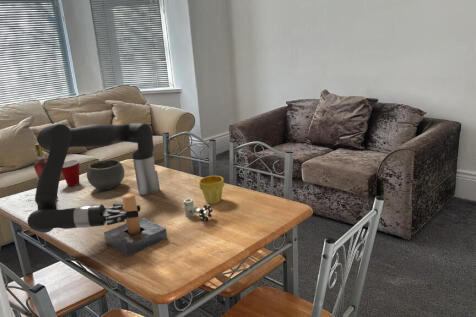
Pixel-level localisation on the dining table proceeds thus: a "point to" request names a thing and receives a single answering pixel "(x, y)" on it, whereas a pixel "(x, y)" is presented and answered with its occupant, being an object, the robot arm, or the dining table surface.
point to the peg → (130, 205)
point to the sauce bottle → (39, 161)
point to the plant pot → (212, 188)
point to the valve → (196, 210)
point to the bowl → (105, 174)
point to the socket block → (135, 237)
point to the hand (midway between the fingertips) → (138, 210)
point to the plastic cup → (71, 172)
